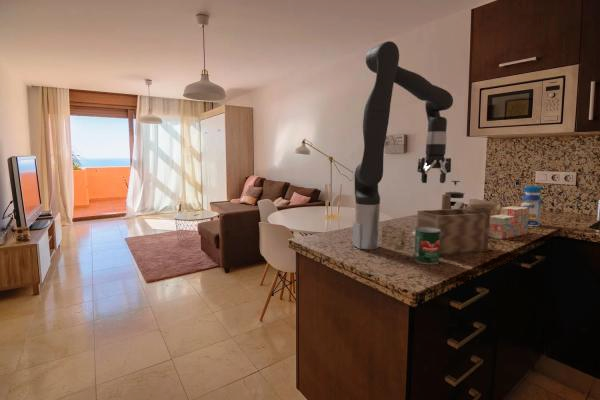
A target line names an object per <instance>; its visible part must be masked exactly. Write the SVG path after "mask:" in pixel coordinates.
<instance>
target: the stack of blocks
mask: <svg viewBox="0 0 600 400" xmlns="http://www.w3.org/2000/svg"><path fill="white" fill-rule="evenodd" d="M528 219H529V208H527V207H521V206H516V205H513V206H512V205H510V206H506V207H505V206H504V207H500V214H496V215H494V214H493V215H490V225H489V238H495V239H498V240H505V239H509V237H510V238H514V237H517V236H521V235H527V234H528V227H529V226H528Z"/></svg>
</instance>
